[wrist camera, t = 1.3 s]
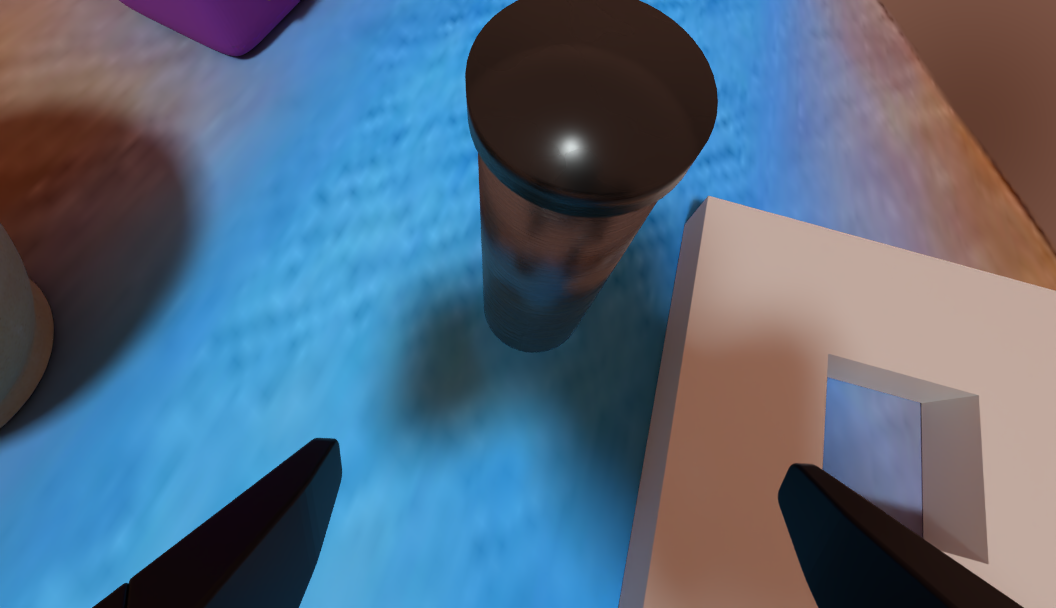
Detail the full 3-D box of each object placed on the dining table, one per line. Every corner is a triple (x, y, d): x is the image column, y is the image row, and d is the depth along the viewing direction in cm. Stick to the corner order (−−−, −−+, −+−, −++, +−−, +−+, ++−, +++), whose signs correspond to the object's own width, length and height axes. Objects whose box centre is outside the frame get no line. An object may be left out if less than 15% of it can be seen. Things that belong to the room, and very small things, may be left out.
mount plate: (1078, 762, 20) (1178, 813, 17) (614, 630, 20) (635, 658, 17) (1033, 320, 26) (1099, 302, 23) (684, 224, 26) (708, 195, 24)
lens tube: (571, 369, 23) (699, 224, 9) (466, 339, 23) (429, 150, 9) (594, 272, 25) (731, 23, 11) (496, 245, 25) (505, -38, 11)
